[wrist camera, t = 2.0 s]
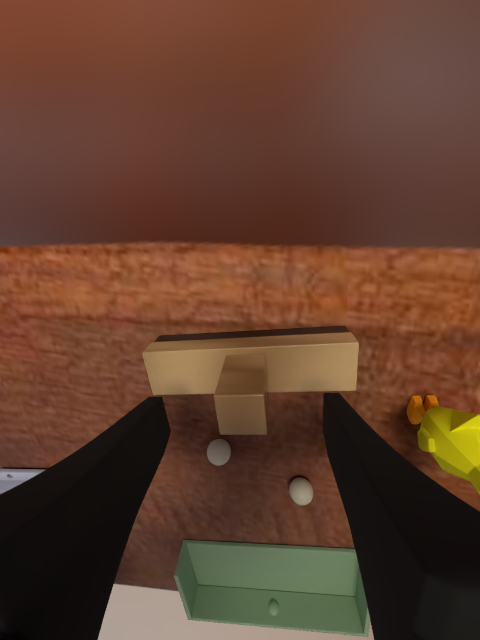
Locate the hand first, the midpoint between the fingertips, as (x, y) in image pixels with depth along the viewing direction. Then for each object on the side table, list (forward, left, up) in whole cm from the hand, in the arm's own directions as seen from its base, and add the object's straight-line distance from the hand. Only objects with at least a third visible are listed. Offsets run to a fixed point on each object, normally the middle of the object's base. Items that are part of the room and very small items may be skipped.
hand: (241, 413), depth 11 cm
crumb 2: (+3, -12, -5) cm, 13 cm away
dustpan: (0, -25, -6) cm, 26 cm away
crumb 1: (-3, -8, -5) cm, 10 cm away
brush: (0, 0, -6) cm, 6 cm away
